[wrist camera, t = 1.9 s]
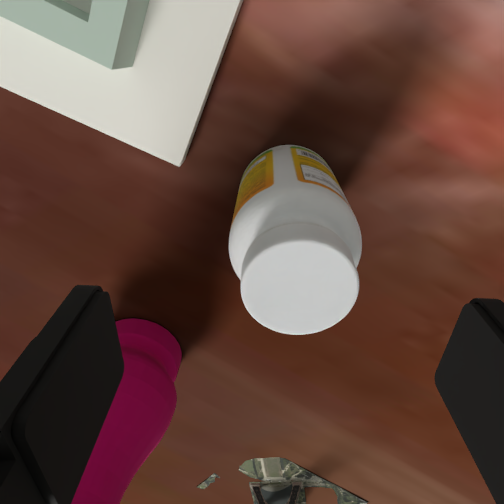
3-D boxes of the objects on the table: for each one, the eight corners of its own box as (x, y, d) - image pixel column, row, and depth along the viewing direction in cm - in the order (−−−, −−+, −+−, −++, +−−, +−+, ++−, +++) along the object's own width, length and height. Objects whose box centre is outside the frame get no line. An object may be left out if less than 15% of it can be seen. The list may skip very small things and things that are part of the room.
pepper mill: (75, 322, 26) (-318, 875, 9) (166, 302, 25) (-79, 904, 7) (120, 388, 29) (-97, 881, 12) (202, 373, 28) (93, 901, 11)
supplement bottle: (247, 238, 22) (234, 356, 14) (231, 150, 19) (202, 230, 11) (336, 227, 21) (380, 344, 13) (332, 135, 19) (384, 207, 10)
